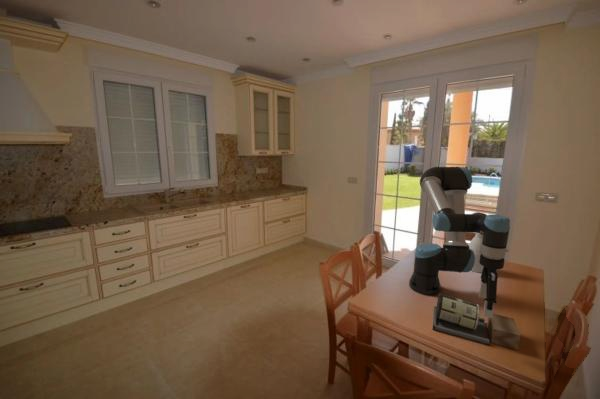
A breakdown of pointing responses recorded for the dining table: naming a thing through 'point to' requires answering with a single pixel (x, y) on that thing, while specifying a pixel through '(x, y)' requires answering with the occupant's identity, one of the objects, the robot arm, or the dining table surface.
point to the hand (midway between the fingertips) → (485, 306)
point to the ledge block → (503, 331)
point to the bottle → (476, 251)
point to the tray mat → (462, 330)
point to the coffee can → (457, 311)
